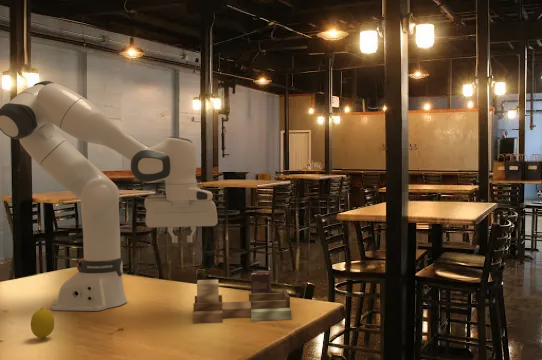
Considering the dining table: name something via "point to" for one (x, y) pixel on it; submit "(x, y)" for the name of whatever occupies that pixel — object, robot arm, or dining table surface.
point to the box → (260, 282)
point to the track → (245, 308)
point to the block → (207, 291)
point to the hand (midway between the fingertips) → (182, 242)
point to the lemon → (42, 323)
